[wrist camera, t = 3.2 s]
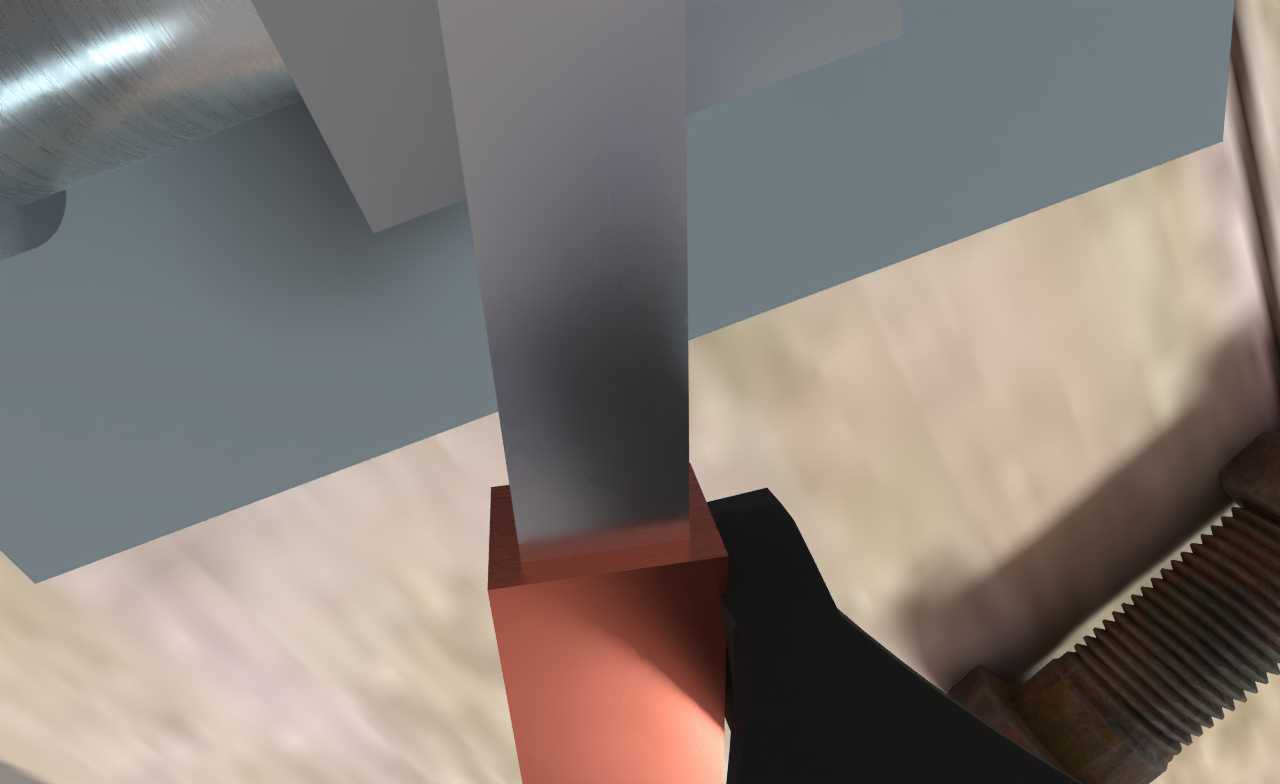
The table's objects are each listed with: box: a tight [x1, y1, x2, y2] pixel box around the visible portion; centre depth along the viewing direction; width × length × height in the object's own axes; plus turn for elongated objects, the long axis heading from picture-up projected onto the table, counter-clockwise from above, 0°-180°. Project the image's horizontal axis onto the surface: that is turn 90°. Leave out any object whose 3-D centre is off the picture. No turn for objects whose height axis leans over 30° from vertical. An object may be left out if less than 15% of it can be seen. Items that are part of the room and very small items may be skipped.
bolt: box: [948, 432, 1280, 784], centre depth 18 cm, size 6×5×15 cm
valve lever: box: [437, 0, 729, 784], centre depth 7 cm, size 12×2×2 cm, turn 2°
